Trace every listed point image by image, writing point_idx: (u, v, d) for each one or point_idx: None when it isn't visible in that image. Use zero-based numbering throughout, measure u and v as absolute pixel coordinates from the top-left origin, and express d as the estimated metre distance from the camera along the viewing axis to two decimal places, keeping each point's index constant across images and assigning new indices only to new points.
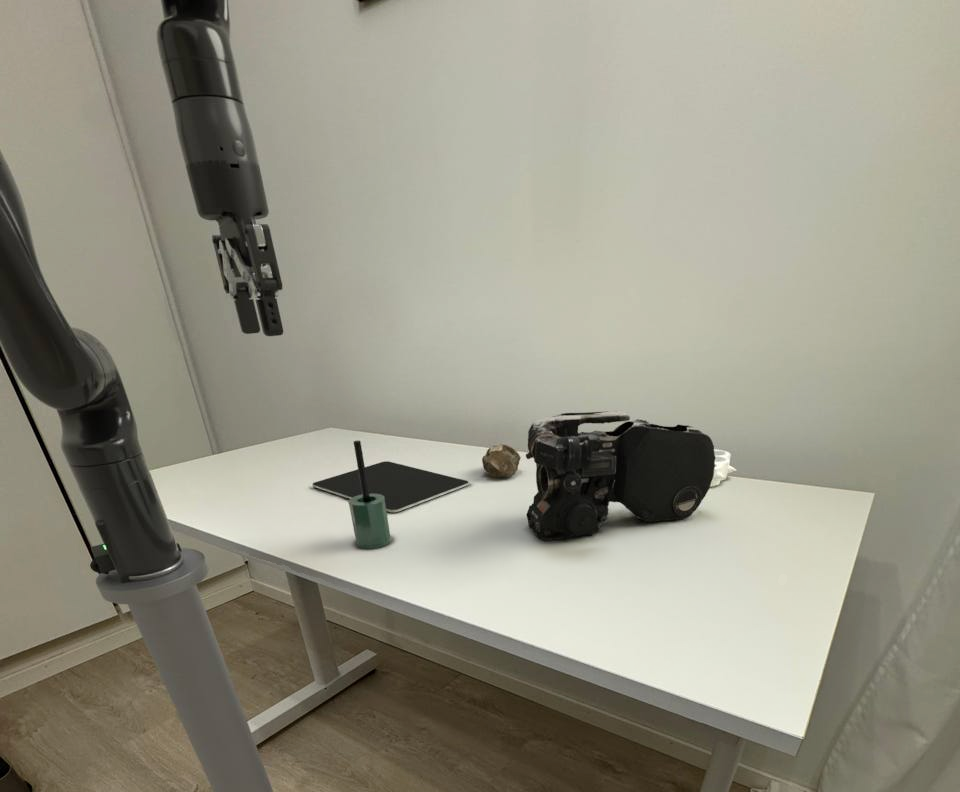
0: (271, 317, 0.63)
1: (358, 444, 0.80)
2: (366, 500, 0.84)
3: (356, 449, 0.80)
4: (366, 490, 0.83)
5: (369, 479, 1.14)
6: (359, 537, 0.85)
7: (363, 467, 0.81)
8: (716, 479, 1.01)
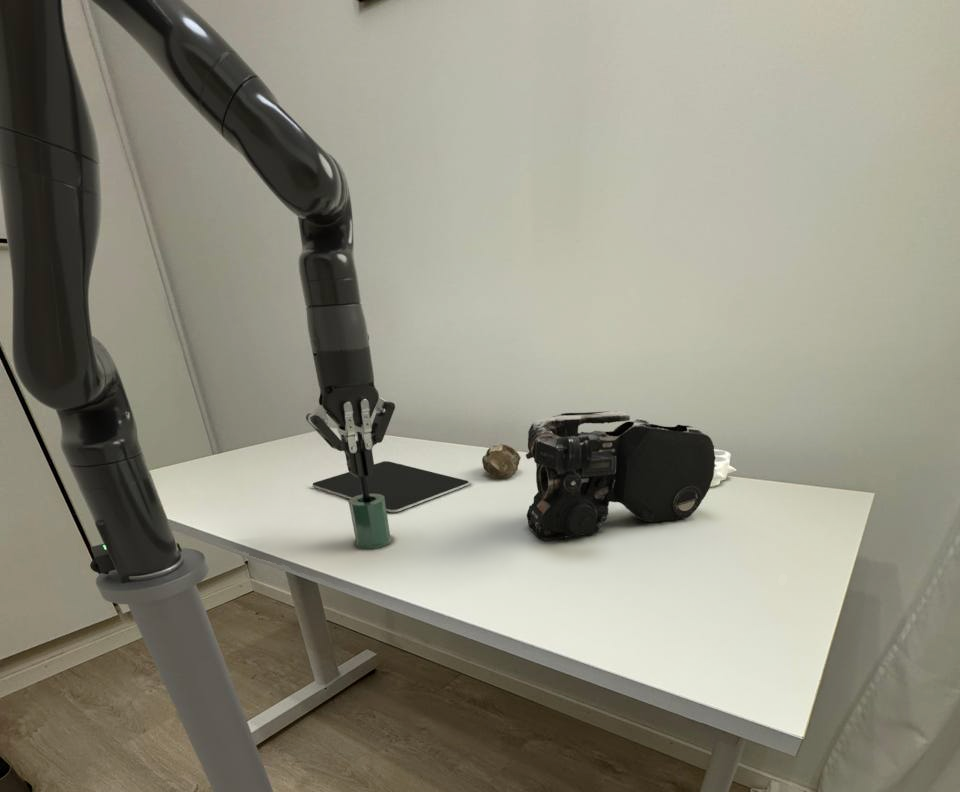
0: (348, 465, 0.81)
1: (358, 444, 0.80)
2: (366, 500, 0.84)
3: None
4: (366, 490, 0.83)
5: (369, 479, 1.14)
6: (359, 537, 0.85)
7: (363, 467, 0.81)
8: (716, 479, 1.01)
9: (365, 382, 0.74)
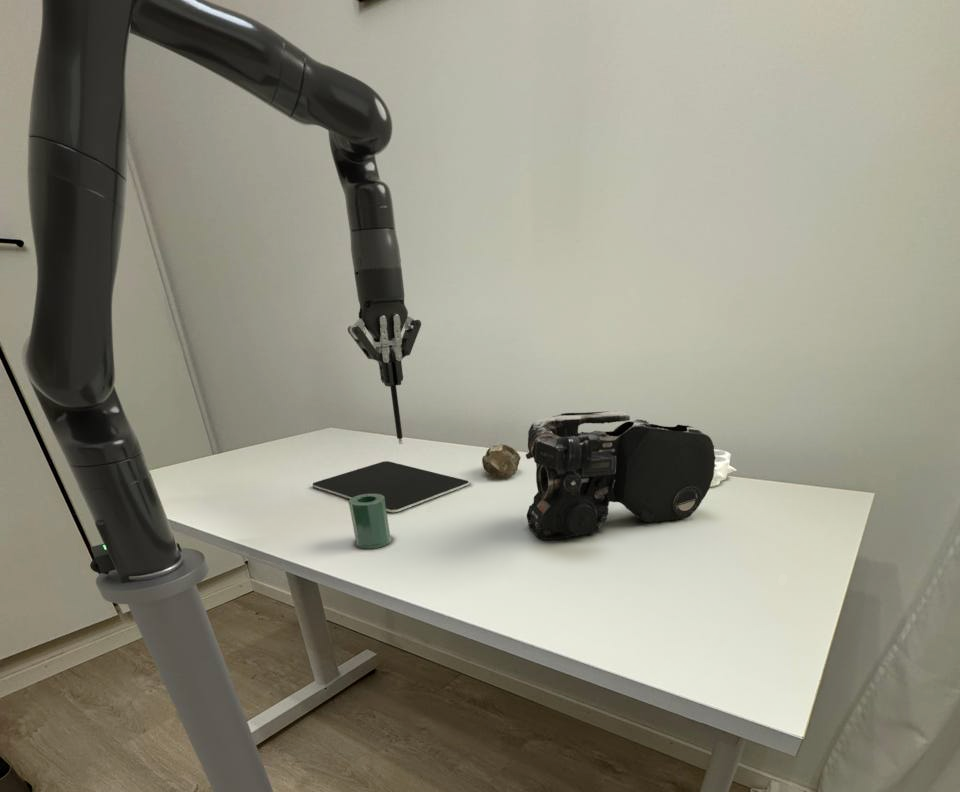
0: (381, 374, 0.95)
1: (390, 355, 0.94)
2: (395, 407, 0.98)
3: None
4: (396, 398, 0.98)
5: (369, 479, 1.14)
6: (359, 537, 0.85)
7: (394, 377, 0.96)
8: (716, 479, 1.01)
9: (398, 298, 0.88)
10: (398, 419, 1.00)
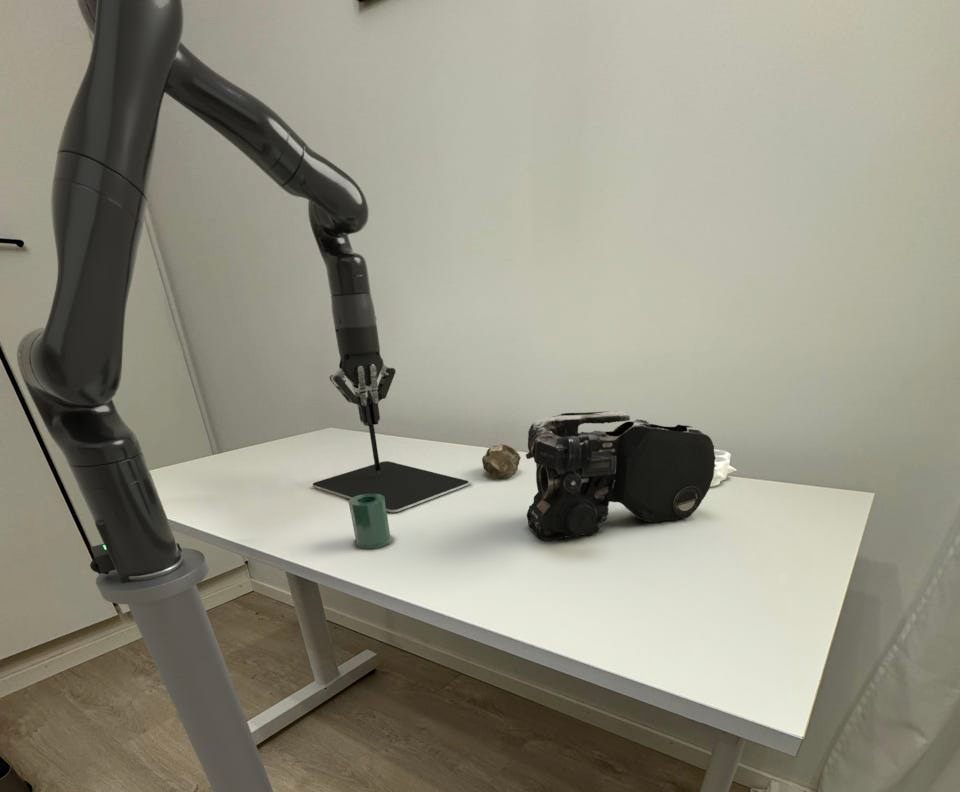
0: (360, 415, 1.08)
1: (368, 399, 1.06)
2: (373, 443, 1.11)
3: None
4: (373, 436, 1.10)
5: (369, 479, 1.14)
6: (359, 537, 0.85)
7: (371, 417, 1.08)
8: (716, 479, 1.01)
9: (373, 351, 1.00)
10: (376, 454, 1.12)
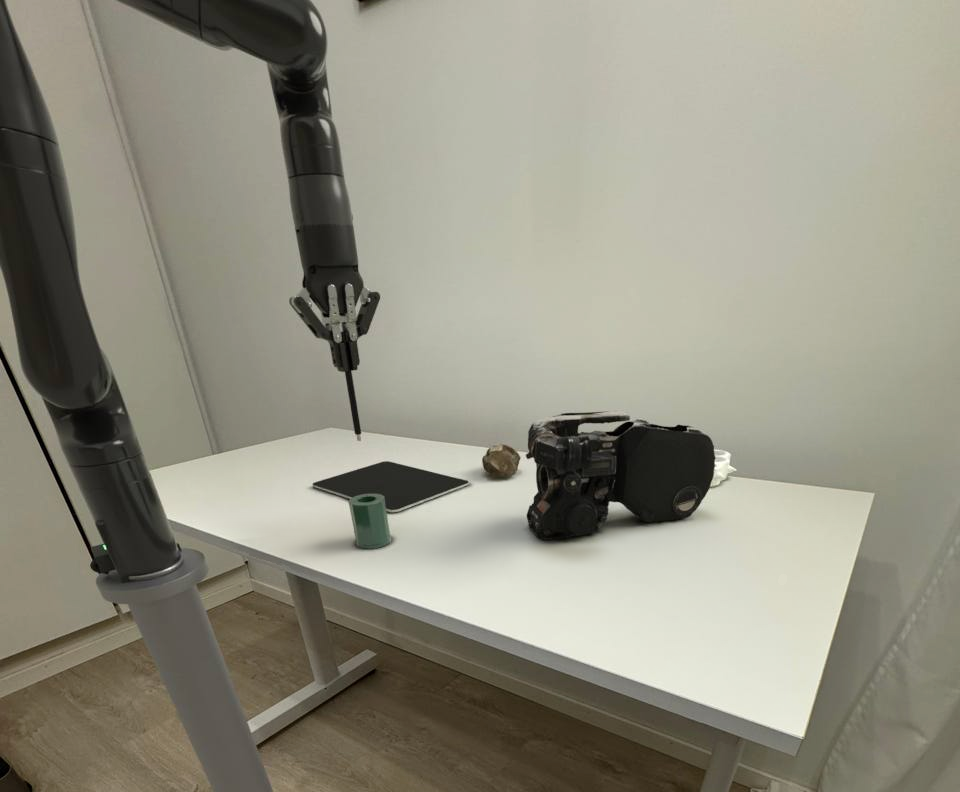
0: (333, 357, 0.80)
1: (343, 334, 0.78)
2: (352, 397, 0.83)
3: (341, 340, 0.79)
4: (351, 386, 0.82)
5: (369, 479, 1.14)
6: (359, 537, 0.85)
7: (348, 360, 0.80)
8: (716, 479, 1.01)
9: (349, 262, 0.73)
10: (355, 411, 0.84)
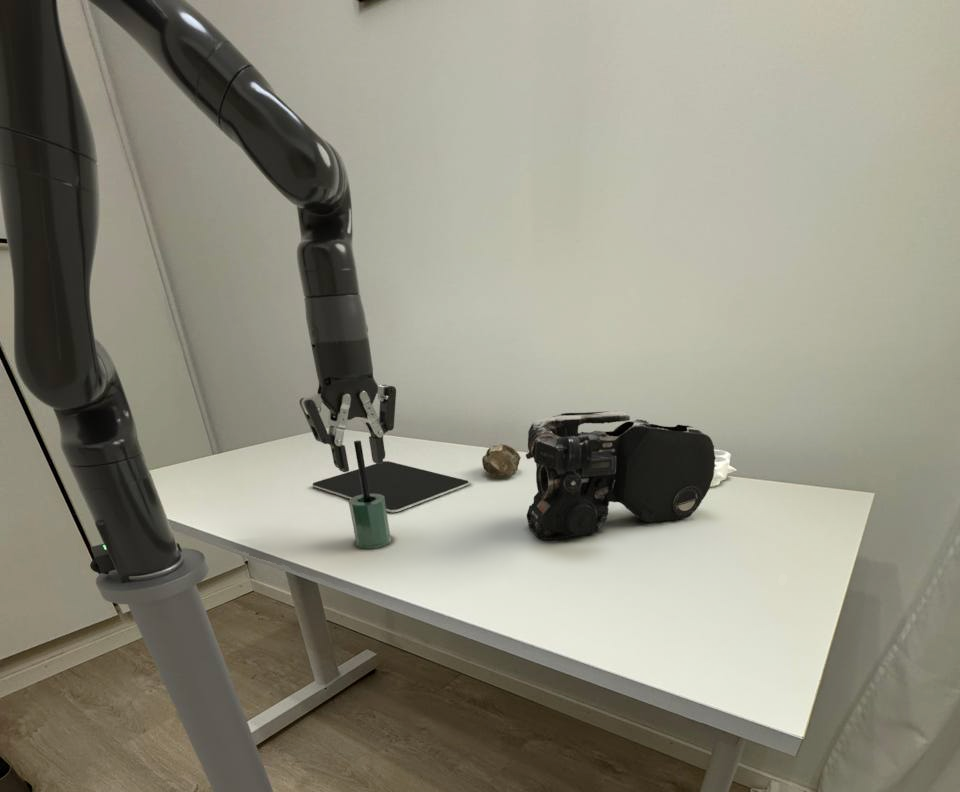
0: (334, 459, 0.79)
1: (358, 444, 0.80)
2: (366, 500, 0.84)
3: (356, 449, 0.80)
4: (366, 490, 0.83)
5: (369, 479, 1.14)
6: (359, 537, 0.85)
7: (363, 467, 0.81)
8: (716, 479, 1.01)
9: (364, 374, 0.73)
10: None
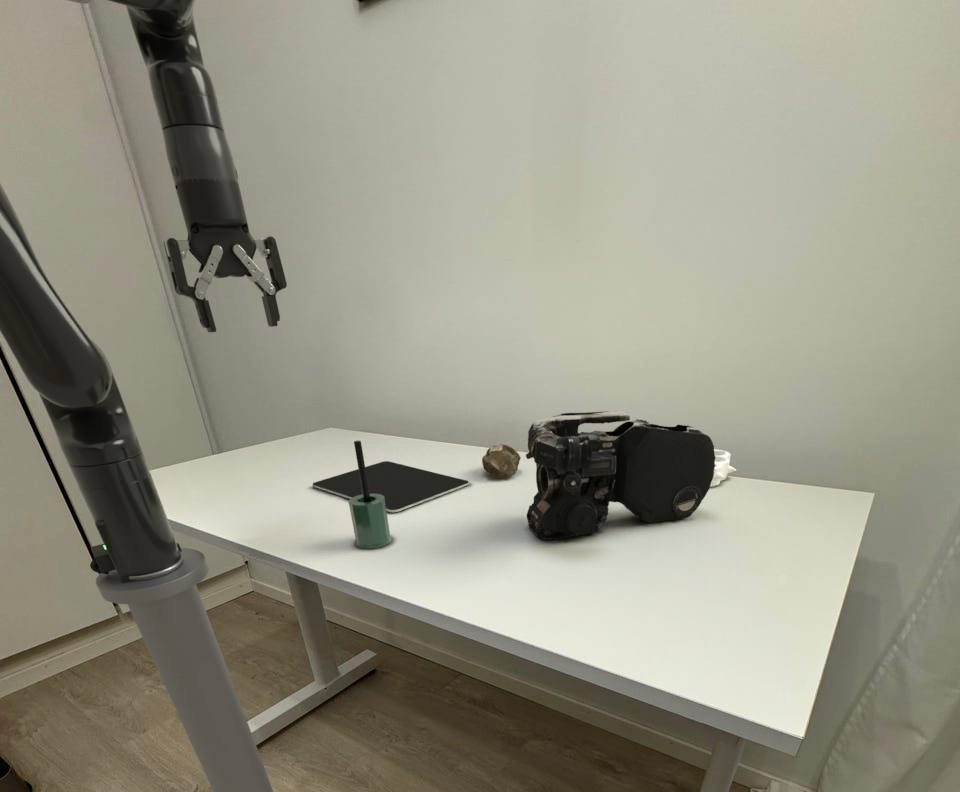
0: (199, 316, 0.74)
1: (358, 444, 0.80)
2: (366, 500, 0.84)
3: (356, 449, 0.80)
4: (366, 490, 0.83)
5: (369, 479, 1.14)
6: (359, 537, 0.85)
7: (363, 467, 0.81)
8: (716, 479, 1.01)
9: (233, 221, 0.69)
10: None
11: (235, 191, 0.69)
